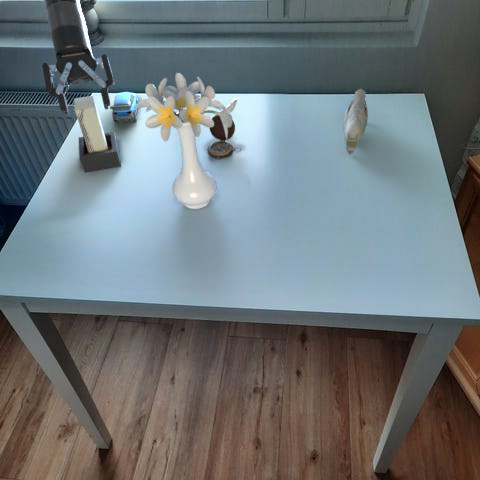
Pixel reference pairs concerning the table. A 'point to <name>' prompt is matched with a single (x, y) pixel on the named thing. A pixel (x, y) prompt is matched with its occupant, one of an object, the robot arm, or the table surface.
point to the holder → (100, 155)
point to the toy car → (125, 107)
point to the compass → (221, 140)
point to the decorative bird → (355, 120)
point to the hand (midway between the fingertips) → (86, 111)
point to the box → (90, 124)
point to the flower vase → (187, 132)
